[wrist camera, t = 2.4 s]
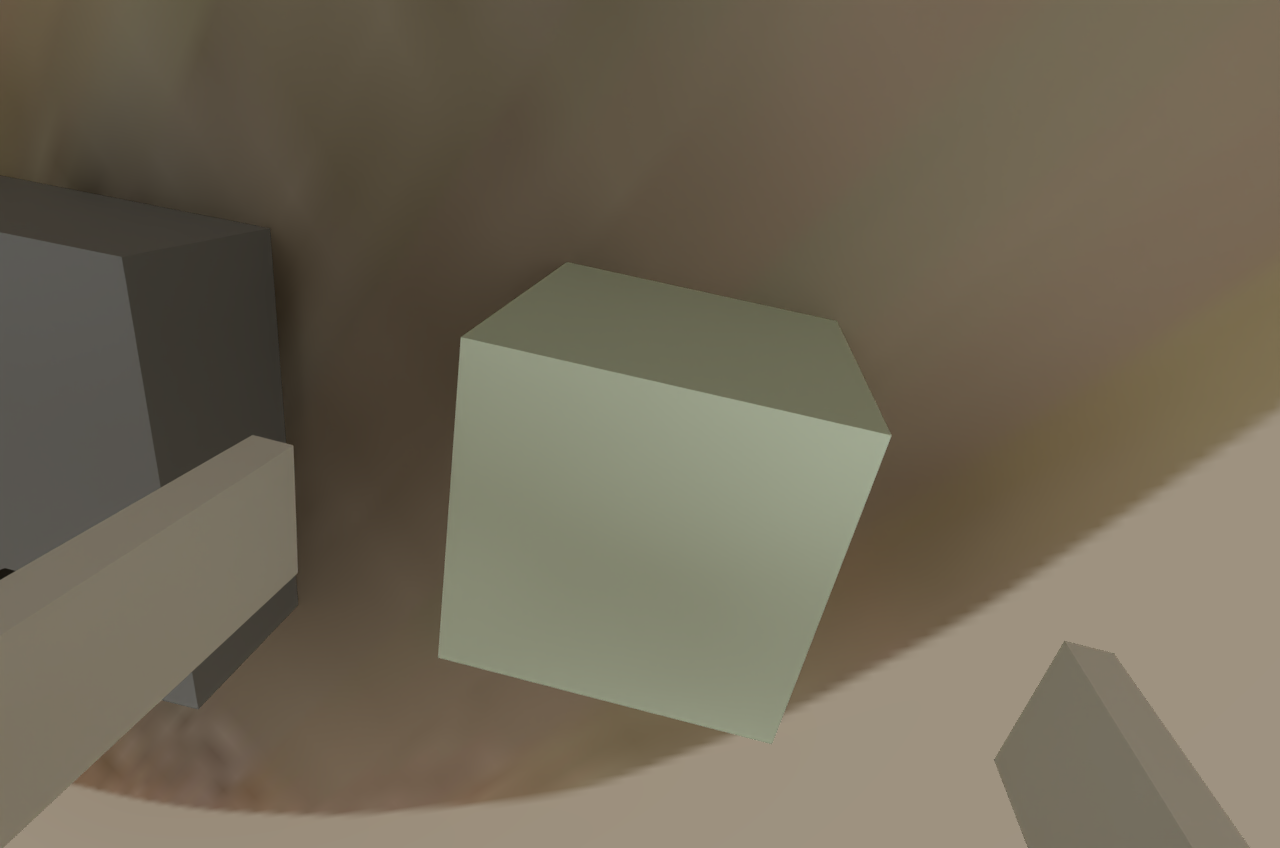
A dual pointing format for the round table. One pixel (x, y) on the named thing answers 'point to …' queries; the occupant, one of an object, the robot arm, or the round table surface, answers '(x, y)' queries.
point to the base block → (128, 370)
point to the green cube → (653, 495)
